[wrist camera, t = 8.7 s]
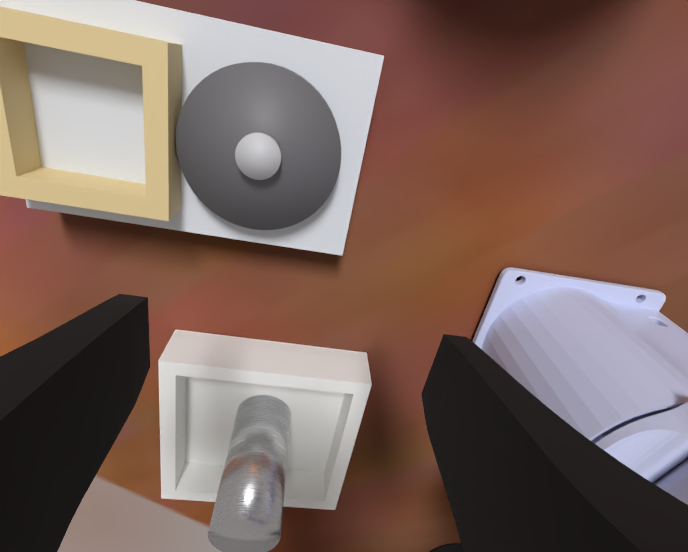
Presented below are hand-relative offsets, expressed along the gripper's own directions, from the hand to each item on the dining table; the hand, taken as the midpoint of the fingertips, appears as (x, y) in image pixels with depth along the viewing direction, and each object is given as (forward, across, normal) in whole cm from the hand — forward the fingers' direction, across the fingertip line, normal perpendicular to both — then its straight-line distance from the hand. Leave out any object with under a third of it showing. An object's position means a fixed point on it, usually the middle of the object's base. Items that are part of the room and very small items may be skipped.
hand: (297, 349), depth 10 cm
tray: (+10, +1, +13) cm, 17 cm away
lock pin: (+10, +1, +13) cm, 16 cm away
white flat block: (+10, +5, -3) cm, 12 cm away
